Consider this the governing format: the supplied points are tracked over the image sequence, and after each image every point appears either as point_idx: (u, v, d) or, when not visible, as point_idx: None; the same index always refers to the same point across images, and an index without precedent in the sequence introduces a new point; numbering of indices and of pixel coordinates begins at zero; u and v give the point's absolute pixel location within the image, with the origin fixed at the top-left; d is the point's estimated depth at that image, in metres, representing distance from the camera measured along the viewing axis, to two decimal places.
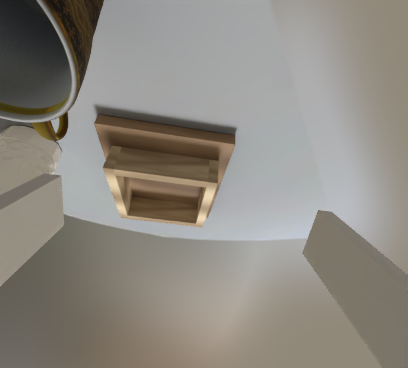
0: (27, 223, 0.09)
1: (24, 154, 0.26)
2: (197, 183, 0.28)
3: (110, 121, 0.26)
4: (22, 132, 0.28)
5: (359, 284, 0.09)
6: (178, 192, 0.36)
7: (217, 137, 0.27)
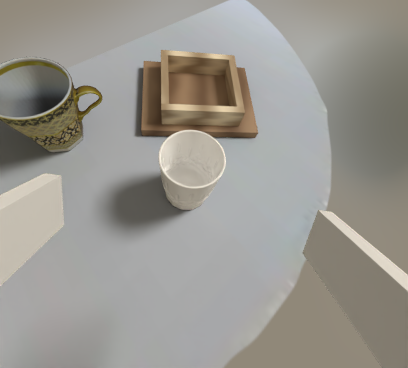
0: (27, 223, 0.09)
1: None
2: (164, 59, 0.39)
3: (142, 124, 0.38)
4: None
5: (359, 284, 0.09)
6: (209, 88, 0.43)
7: None
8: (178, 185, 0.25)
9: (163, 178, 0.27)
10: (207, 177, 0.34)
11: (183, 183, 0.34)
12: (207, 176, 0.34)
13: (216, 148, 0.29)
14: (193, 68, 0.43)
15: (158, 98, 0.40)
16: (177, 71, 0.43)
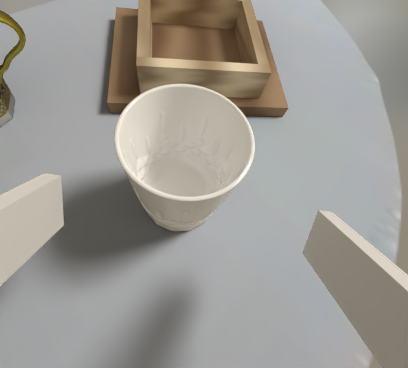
0: (27, 223, 0.09)
1: None
2: None
3: None
4: None
5: (359, 284, 0.09)
6: (213, 45, 0.29)
7: None
8: (155, 194, 0.11)
9: None
10: (214, 176, 0.20)
11: (173, 187, 0.20)
12: (214, 175, 0.20)
13: (233, 120, 0.15)
14: (189, 16, 0.29)
15: (136, 57, 0.26)
16: (165, 21, 0.29)
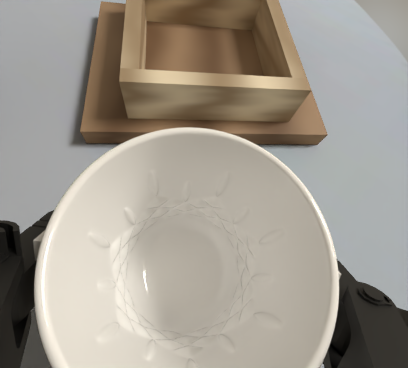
0: None
1: None
2: None
3: None
4: None
5: None
6: (225, 50, 0.23)
7: None
8: None
9: None
10: (233, 249, 0.13)
11: (173, 264, 0.14)
12: (233, 247, 0.13)
13: (282, 193, 0.08)
14: (194, 13, 0.22)
15: None
16: (164, 20, 0.23)
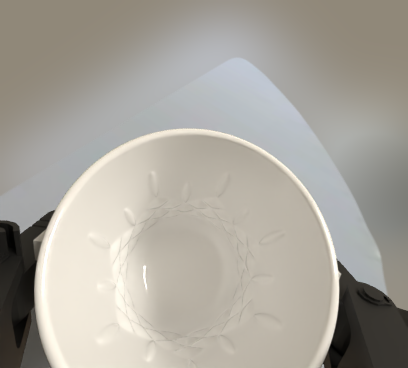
0: None
1: None
2: None
3: None
4: None
5: None
6: None
7: None
8: None
9: None
10: (233, 249, 0.13)
11: (173, 265, 0.14)
12: (233, 247, 0.13)
13: (282, 194, 0.08)
14: None
15: None
16: None
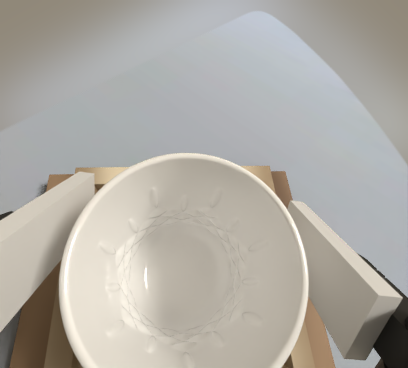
0: (70, 216, 0.10)
1: None
2: None
3: None
4: None
5: (318, 265, 0.09)
6: None
7: None
8: None
9: None
10: (227, 254, 0.15)
11: (171, 268, 0.15)
12: (227, 252, 0.15)
13: (265, 209, 0.09)
14: None
15: None
16: None
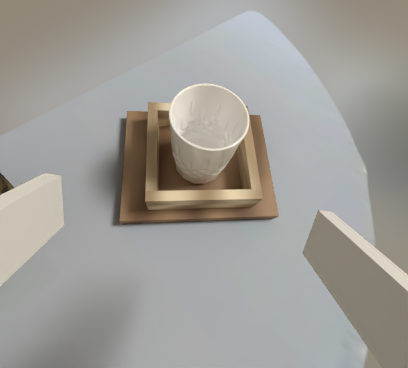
0: (27, 223, 0.09)
1: None
2: (152, 117, 0.29)
3: None
4: None
5: (359, 284, 0.09)
6: None
7: None
8: (193, 146, 0.21)
9: (174, 140, 0.23)
10: (223, 146, 0.30)
11: None
12: (223, 145, 0.29)
13: (237, 107, 0.24)
14: None
15: (144, 168, 0.30)
16: None
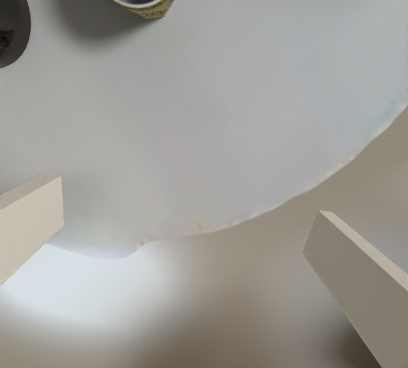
0: (27, 223, 0.09)
1: None
2: None
3: None
4: None
5: (359, 284, 0.09)
6: None
7: None
8: None
9: None
10: None
11: None
12: None
13: None
14: None
15: None
16: None
